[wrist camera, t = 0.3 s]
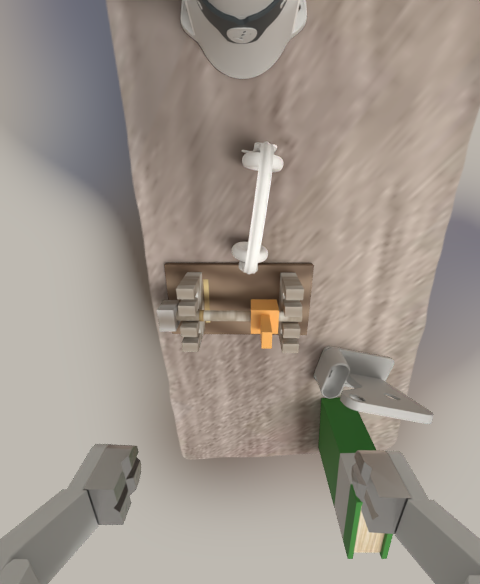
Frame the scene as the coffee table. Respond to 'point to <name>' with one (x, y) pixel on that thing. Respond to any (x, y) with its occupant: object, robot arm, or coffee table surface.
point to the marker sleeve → (264, 319)
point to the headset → (257, 205)
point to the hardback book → (347, 474)
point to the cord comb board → (234, 300)
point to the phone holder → (365, 384)
